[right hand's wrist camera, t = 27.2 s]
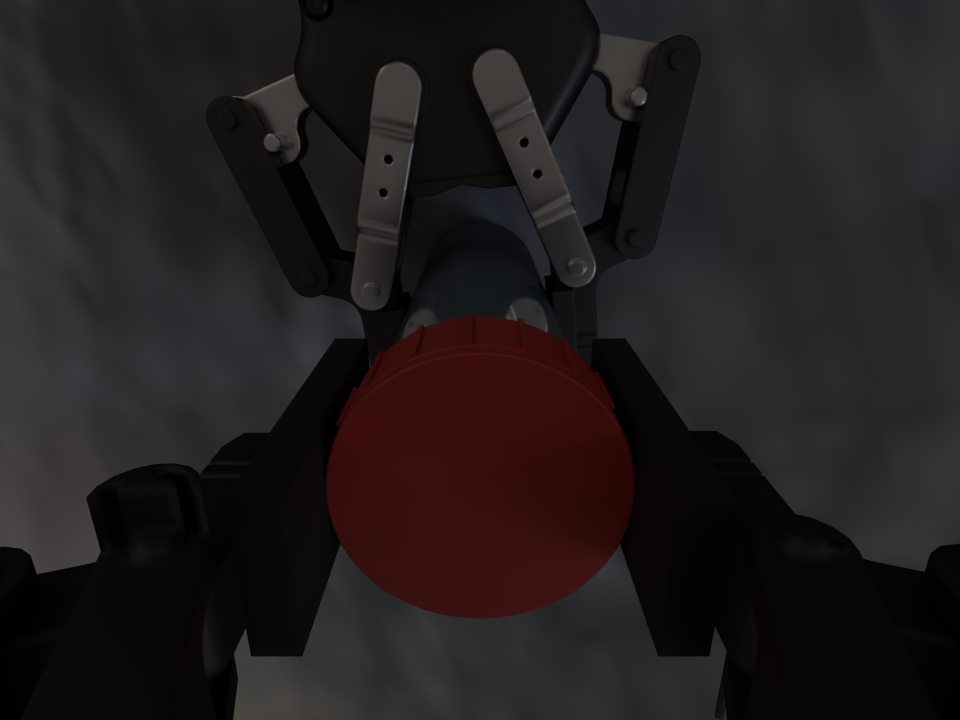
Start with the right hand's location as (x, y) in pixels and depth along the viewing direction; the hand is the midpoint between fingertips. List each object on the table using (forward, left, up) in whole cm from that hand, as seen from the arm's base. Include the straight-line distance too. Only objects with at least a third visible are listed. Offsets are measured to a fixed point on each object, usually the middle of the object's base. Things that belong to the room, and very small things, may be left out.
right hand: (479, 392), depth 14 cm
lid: (0, 0, +4) cm, 4 cm away
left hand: (0, -3, -6) cm, 6 cm away
